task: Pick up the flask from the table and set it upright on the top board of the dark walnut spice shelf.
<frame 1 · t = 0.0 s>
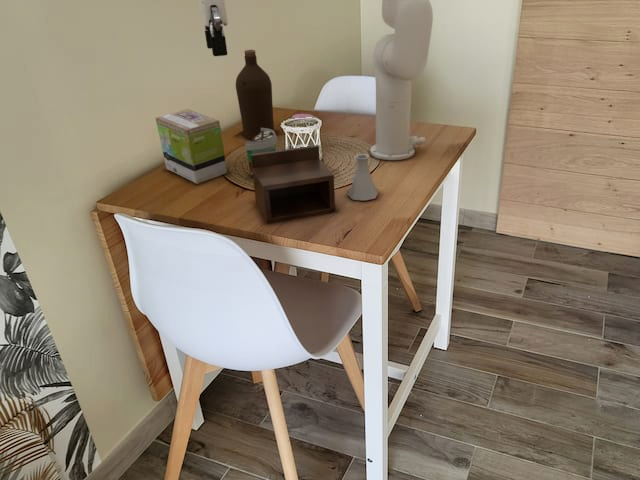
hand: (217, 51, 133), 31 cm above the table, tool pointing down, fingers open, 9 cm apart
food container: (268, 172, 152), on the table
flask: (362, 196, 138), on the table
cupcake: (304, 148, 168), on the table
olive oil: (259, 135, 178), on the table
spice shelf: (295, 206, 133), on the table
tea box: (196, 172, 153), on the table
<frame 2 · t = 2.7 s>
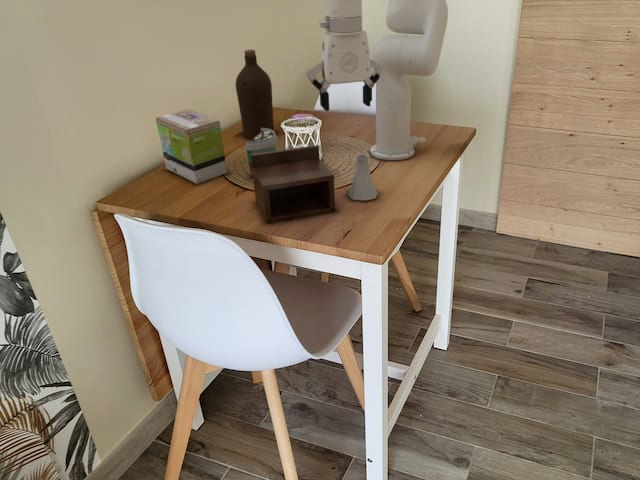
hand: (346, 107, 128), 21 cm above the table, tool pointing down, fingers open, 9 cm apart
nothing on the table moved.
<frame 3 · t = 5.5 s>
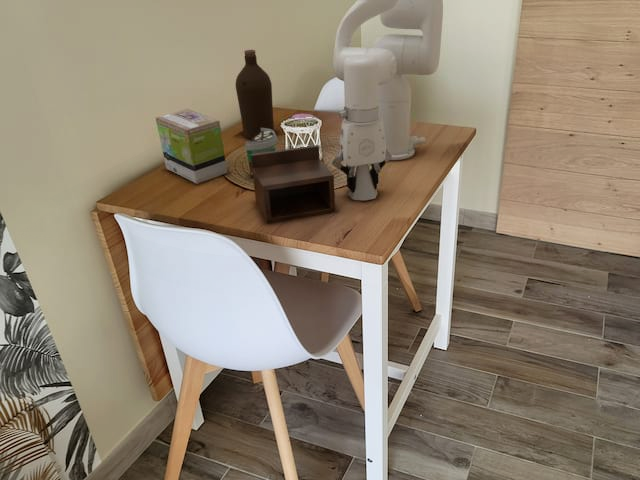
hand: (362, 188, 137), 2 cm above the table, tool pointing down, fingers closed on flask, 4 cm apart
flask: (362, 196, 138), on the table, touching gripper
everything else where it was.
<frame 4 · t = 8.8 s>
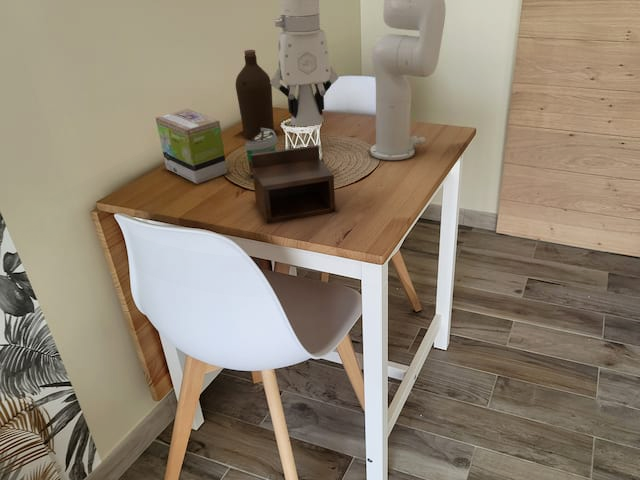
hand: (306, 114, 123), 22 cm above the table, tool pointing down, fingers closed on flask, 4 cm apart
flask: (307, 123, 124), point 19 cm above the table, touching gripper
everything else where it was.
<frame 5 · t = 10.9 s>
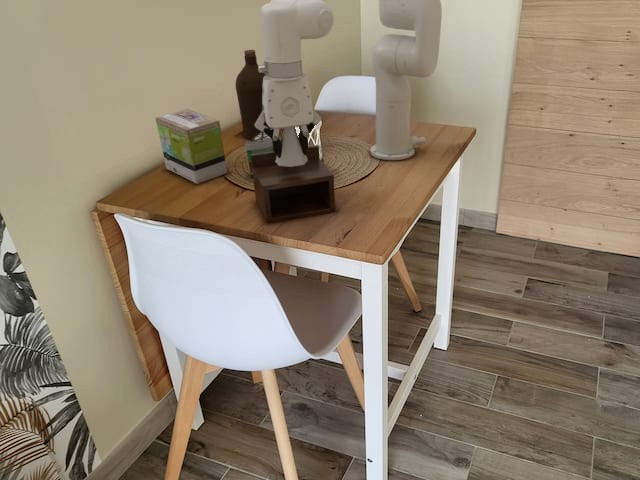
hand: (291, 153, 126), 13 cm above the table, tool pointing down, fingers closed on flask, 4 cm apart
flask: (291, 162, 127), point 11 cm above the table, touching gripper
everything else where it was.
when the fingers open (11 cm above the table, at t = 12.0 s): flask stays where it is, resting on spice shelf.
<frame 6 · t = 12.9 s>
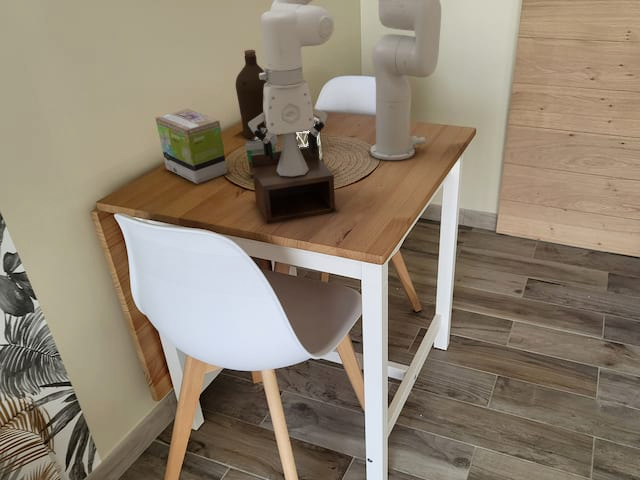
hand: (291, 155, 126), 13 cm above the table, tool pointing down, fingers open, 9 cm apart
flask: (292, 172, 128), point 9 cm above the table, touching spice shelf
everything else where it was.
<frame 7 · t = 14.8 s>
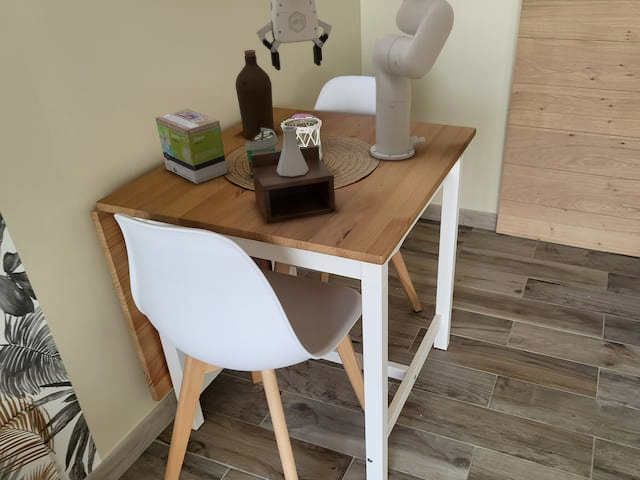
hand: (297, 66, 133), 28 cm above the table, tool pointing down, fingers open, 9 cm apart
nothing on the table moved.
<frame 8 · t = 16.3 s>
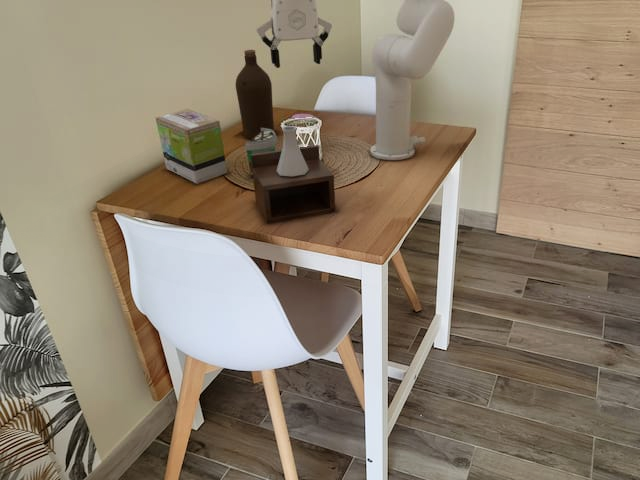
hand: (297, 64, 133), 28 cm above the table, tool pointing down, fingers open, 9 cm apart
nothing on the table moved.
at the end: flask inside the target area on the spice shelf (0.3 cm from its centre), point 8.8 cm above the spice shelf's base; flask tilted 0°; the gripper is holding nothing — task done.
